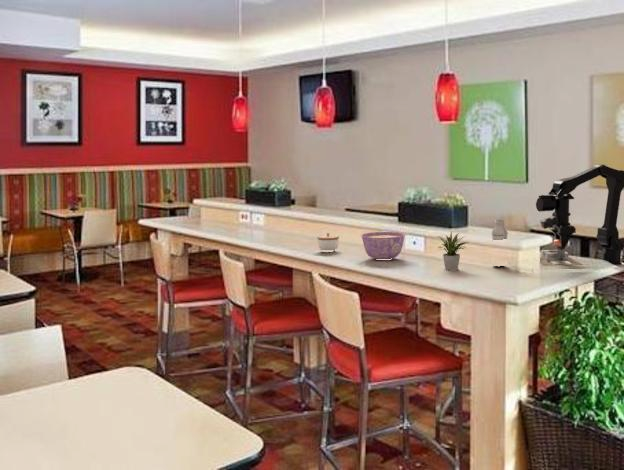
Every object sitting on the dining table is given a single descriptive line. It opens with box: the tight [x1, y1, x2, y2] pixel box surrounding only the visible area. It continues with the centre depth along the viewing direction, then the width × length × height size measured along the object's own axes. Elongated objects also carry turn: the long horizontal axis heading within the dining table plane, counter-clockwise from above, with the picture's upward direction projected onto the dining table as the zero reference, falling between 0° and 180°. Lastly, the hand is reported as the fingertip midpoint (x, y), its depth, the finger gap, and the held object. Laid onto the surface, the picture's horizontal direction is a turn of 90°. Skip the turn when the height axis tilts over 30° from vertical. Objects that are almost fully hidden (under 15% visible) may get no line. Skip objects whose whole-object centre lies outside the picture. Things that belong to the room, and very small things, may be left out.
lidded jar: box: [316, 232, 340, 251], centre depth 348 cm, size 11×11×9 cm
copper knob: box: [553, 238, 569, 260], centre depth 291 cm, size 6×6×9 cm
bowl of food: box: [361, 231, 406, 260], centre depth 322 cm, size 20×20×12 cm
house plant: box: [437, 230, 469, 271], centre depth 292 cm, size 14×14×16 cm
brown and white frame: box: [539, 249, 584, 270], centre depth 297 cm, size 16×18×5 cm
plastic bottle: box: [491, 219, 508, 241], centre depth 294 cm, size 6×7×20 cm
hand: (561, 247), depth 291 cm, fingers closed on copper knob, 6 cm apart
